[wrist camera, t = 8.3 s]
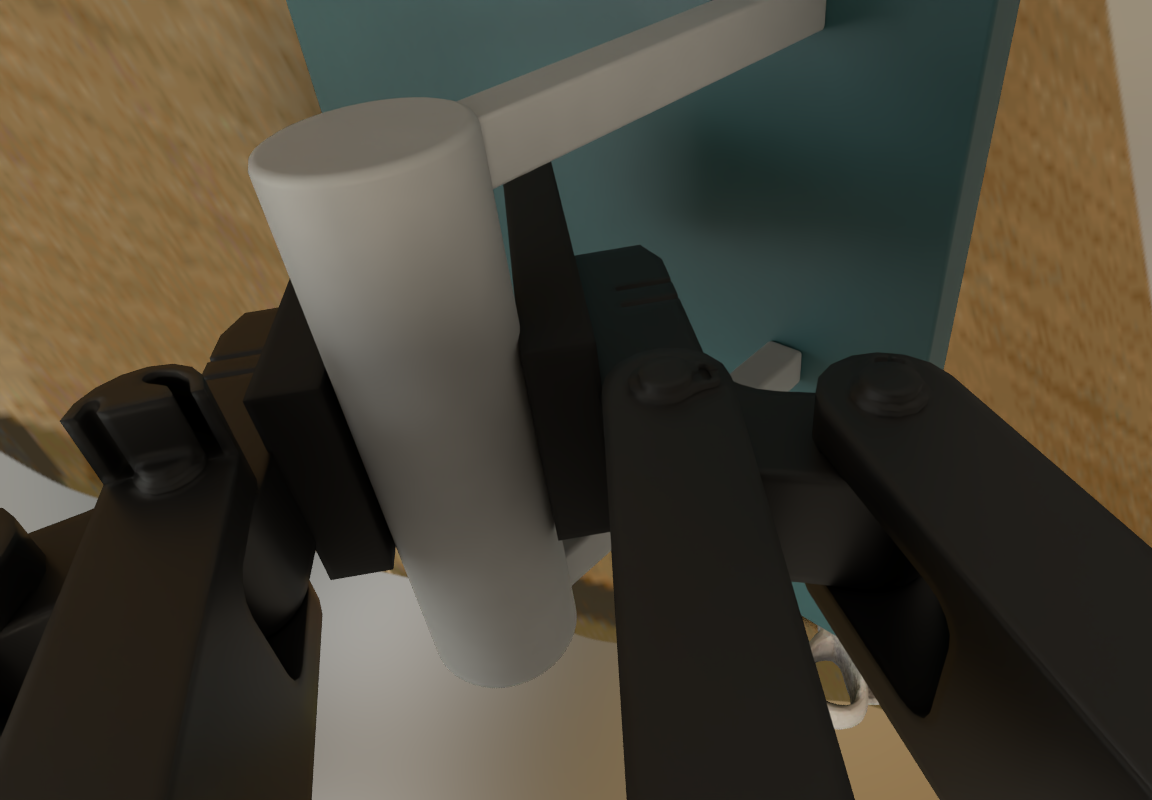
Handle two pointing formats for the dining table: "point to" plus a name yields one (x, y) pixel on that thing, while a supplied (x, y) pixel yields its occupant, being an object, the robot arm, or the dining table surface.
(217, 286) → the dining table surface
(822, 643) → the mug
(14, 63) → the dining table surface
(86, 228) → the dining table surface
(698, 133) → the cooler lid
